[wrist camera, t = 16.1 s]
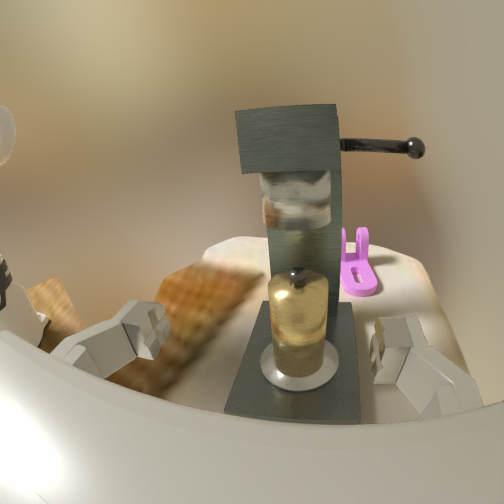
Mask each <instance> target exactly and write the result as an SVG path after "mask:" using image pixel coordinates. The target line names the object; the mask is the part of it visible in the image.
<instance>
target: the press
mask: <svg viewBox="0 0 504 504" xmlns="http://www.w3.org/2000/svg"><path fill="white" fill-rule="evenodd" d="M235 118H236V126H237V135H238V144H239V153H240V162H241V171H242V174H248V173H259V176H260V187H261V197H262V207H263V217H264V224H265V225H267V234H268V245H269V257H270V270H271V278H273V277H274V276H275V275H277V274H279V273H282V272H285V271H289V270H290V269H291V268H293V267H303V268H305V269H306V270H311V271H315V272H318V273H320V274H322V275H323V276H325V277H326V279H327V280H328V307H327V324H326V338H325V350H324V361H323V365H322V367H321V368H320V369H319V370H318V371H317V372H316V373H314V374H312V375H310V376H307V377H302V378H294V377H289V376H286V375H284V374H282V373H281V372H279V371H278V370H277V368H276V366H275V364H274V353H273V340H272V328H271V317H270V305H269V301H263V302H262V305H261V308H260V311H259V314H258V317H257V320H256V323H255V325H254V328H253V331H252V334H251V337H250V340H249V343H248V345H247V348H246V351H245V354H244V357H243V359H242V362H241V365H240V368H239V371H238V373H237V376H236V379H235V382H234V384H233V387H232V390H231V393H230V395H229V398H228V401H227V403H226V406H225V409H224V412H225V414H227V415H233V416H239V417H245V418H252V419H259V420H267V421H277V422H287V423H301V424H321V425H358V424H359V422H360V396H359V377H358V362H357V350H356V340H355V330H354V321H353V313H352V305H351V302H338V301H339V288H340V271H341V246H342V176H341V153H340V151H344V152H347V151H349V152H350V151H351V152H384V153H401V154H407V155H408V156H409V157H411V158H413V159H419V158H421V157H423V155H424V154H425V145H424V143H423V142H422V140H420V139H419V138H417V137H411V138H409V139H408V140H407V141H400V140H384V139H383V140H382V139H358V138H342V139H340V136H339V123H338V116H337V110H336V104H312V105H292V106H277V107H266V108H257V109H248V110H240V111H235Z"/></svg>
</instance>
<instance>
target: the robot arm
mask: <svg viewBox="0 0 504 504" xmlns="http://www.w3.org/2000/svg"><path fill="white" fill-rule="evenodd" d="M15 140H16V125H15V121H14V118H13V116H12V114H11V112H10V111H9V110H8V109H7V108H6V107H5V106H3V105H1V104H0V165H2V164H3V163H5V162H6V161H8V159H9V157H10V155H11V153H12V150H13V148H14V144H15ZM165 313H166V311H165V308H164V305H162V304H160V303H154V302H148V301H141V300H134V299H132V300H129V301H128V302H127V303H126V304H125V305H124V306H123V307H122V308H121V309H120V310H119V311H118V312H117V313H116V314H115V316H114V317H113V318H112V319H111V320H106V321H103V322H101V323H99V324H96V325H94V326H92V327H90V328H87V329H85V330H83V331H80V332H78V333H76V334H73V335H71V336H69V337H66V338H64V339H63V341H62V342H61V343H60V344H59V345H58V346H57V347H56V348H55V349H54V350H53V351H52V352H51V353H50V354H48V353H46V352H45V351H43V350H41V349H39V348H37V346H38V345H39V343H40V341H41V339H42V336H43V330H44V327H45V326H46V324H47V323H48V321H49V319H48V318H47V316H46V315H45V314H41V313H38V312H36V310H35V308H34V306H33V304H32V303H31V301H30V299H29V297H28V295H27V293H26V291H25V289H24V287H23V286H21V285H19V284H16V283H14V282H13V281H12V276H11V274H10V270H9V267H8V265H7V264H6V261H5V260H4V259H2V256H1V253H0V504H504V401H501V402H498V403H494V404H491V405H487V406H484V405H483V402H482V399H481V397H480V393H479V390H478V387H477V385H476V382H475V380H474V379H473V378H472V377H470V376H469V375H468V374H467V373H465V372H464V371H463V370H462V369H460V368H459V367H458V366H457V365H455V364H454V363H453V362H452V361H450V360H449V359H448V358H447V357H445V356H444V355H443V354H441V353H440V352H439V351H438V350H436V349H435V348H434V347H433V346H428V344H427V341H426V338H425V336H424V333H423V330H422V328H421V325H420V323H419V320H418V318H417V317H416V316H405V317H378V318H377V319H376V322H375V332H376V333H375V334H374V335H372V339H371V344H370V360H371V361H372V362H373V363H374V364H373V367H372V376H373V384H393V383H396V384H395V385H396V386H397V387H398V388H399V390H400V391H401V392H402V393H403V395H404V396H405V397H406V398H407V400H408V401H409V402H410V404H411V405H412V406H413V407H414V409H415V410H416V411H417V412H418V414H419V415H420V416H419V418H418V419H417V420H413V421H404V422H394V423H381V424H361V425H321V424H301V423H287V422H277V421H267V420H259V419H252V418H245V417H239V416H233V415H227V414H222V413H217V412H212V411H207V410H203V409H198V408H194V407H190V406H186V405H182V404H178V403H174V402H171V401H167V400H163V399H160V398H157V397H153V396H150V395H147V394H144V393H141V392H138V391H135V390H132V389H129V388H126V387H123V386H121V385H118V384H115V383H113V382H110V381H107V380H105V378H107V377H108V376H110V375H111V374H113V373H114V372H116V371H118V370H119V369H121V368H122V367H124V366H125V365H127V364H128V363H130V362H131V361H133V360H134V359H136V358H137V357H141V358H145V359H149V360H154V359H155V358H156V356H157V355H158V353H159V352H160V350H161V347H160V345H162V344H164V343H165V342H166V341H167V340H168V338H169V335H170V324H169V321H168V320H167V319H166V317H165V316H164V315H165Z"/></svg>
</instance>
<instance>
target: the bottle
mask: <svg viewBox="0 0 504 504" xmlns="http://www.w3.org/2000/svg"><path fill="white" fill-rule="evenodd" d="M268 294H269V305H270V317H271V328H272V340H273V353H274V364H275V366H276V368H277V370H278V371H279V372H281V373H282V374H284V375H286V376H289V377H294V378H302V377H307V376H310V375H312V374H314V373H316V372H317V371H318V370H319V369H320V368H321V367H322V365H323V361H324V350H325V338H326V324H327V307H328V280H327V279H326V277H325V276H323V275H322V274H320V273H318V272H315V271H311V270H306V269H305V268H303V267H293V268H291V269H290V270H289V271H285V272H282V273H279V274H277V275H275V276H274V277H273V278H271V280H270V281H269V283H268Z"/></svg>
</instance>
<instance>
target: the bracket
mask: <svg viewBox="0 0 504 504" xmlns="http://www.w3.org/2000/svg"><path fill="white" fill-rule="evenodd" d="M368 246H369V234H368V230H367V228H366V227H364V228H358V229H357V237H356V253H346V235H345V230H344V228H342V246H341V271H340V280H341V283H342V286H343V289H344V291H345V292H346V293H348V294H350V295H352V296H356V297H367V296H370V295H372V294H374V293H375V292H376V289H377V279H376V277H375V275H374V273H373V271H372V269H371V267H370V265H369V263H368ZM352 273H357V274H360V276H361V278H362V280H363V283H357V282H356V281H355V280H354V277H353V274H352Z"/></svg>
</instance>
